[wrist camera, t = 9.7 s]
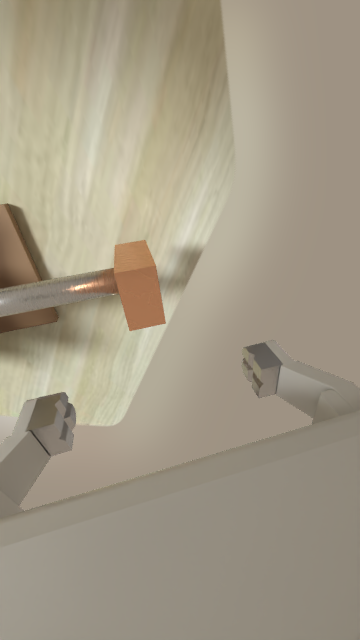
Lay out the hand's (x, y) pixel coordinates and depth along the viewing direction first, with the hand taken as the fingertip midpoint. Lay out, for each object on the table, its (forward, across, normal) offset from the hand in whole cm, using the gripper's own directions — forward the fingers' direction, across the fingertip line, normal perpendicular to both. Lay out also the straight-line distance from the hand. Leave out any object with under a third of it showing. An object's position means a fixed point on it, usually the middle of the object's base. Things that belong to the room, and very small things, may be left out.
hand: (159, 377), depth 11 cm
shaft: (+17, +11, +1) cm, 20 cm away
